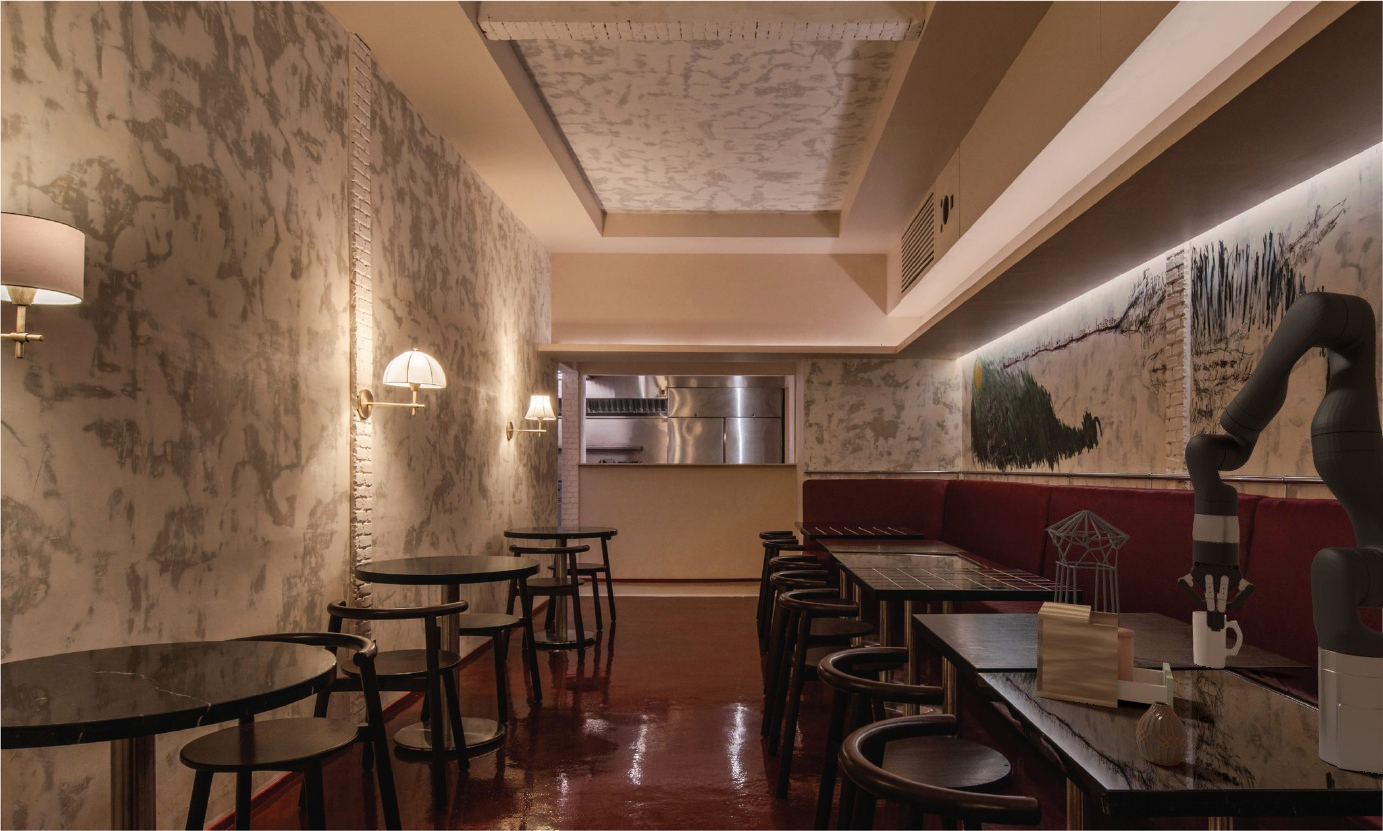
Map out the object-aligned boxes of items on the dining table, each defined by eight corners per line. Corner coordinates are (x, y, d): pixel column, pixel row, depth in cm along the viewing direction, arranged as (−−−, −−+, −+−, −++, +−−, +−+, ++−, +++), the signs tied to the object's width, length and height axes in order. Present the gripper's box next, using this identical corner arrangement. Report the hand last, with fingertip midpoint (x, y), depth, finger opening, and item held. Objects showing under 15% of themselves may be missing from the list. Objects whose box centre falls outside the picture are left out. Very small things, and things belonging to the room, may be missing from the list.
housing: (1117, 708, 158) (1117, 621, 159) (1036, 696, 164) (1037, 613, 165) (1117, 687, 174) (1117, 608, 175) (1043, 677, 180) (1044, 601, 181)
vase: (1170, 754, 132) (1170, 697, 132) (1198, 770, 125) (1198, 710, 125) (1126, 753, 132) (1127, 696, 132) (1152, 769, 125) (1152, 709, 125)
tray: (1173, 711, 155) (1173, 678, 155) (1092, 700, 161) (1092, 668, 161) (1168, 693, 168) (1168, 663, 169) (1094, 683, 174) (1094, 654, 175)
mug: (1195, 666, 196) (1195, 614, 197) (1190, 660, 202) (1190, 610, 203) (1246, 672, 192) (1245, 619, 193) (1239, 666, 198) (1239, 614, 199)
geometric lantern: (1105, 650, 211) (1106, 510, 213) (1132, 665, 195) (1133, 513, 197) (1040, 647, 212) (1042, 507, 214) (1061, 661, 197) (1063, 510, 199)
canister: (1134, 690, 162) (1134, 634, 162) (1101, 686, 165) (1102, 630, 165) (1134, 684, 167) (1134, 629, 167) (1102, 679, 170) (1103, 625, 170)
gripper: (1177, 537, 160) (1176, 630, 159) (1260, 543, 154) (1260, 639, 153) (1174, 535, 166) (1174, 623, 166) (1254, 540, 160) (1254, 632, 160)
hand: (1215, 630), depth 159 cm, fingers closed
